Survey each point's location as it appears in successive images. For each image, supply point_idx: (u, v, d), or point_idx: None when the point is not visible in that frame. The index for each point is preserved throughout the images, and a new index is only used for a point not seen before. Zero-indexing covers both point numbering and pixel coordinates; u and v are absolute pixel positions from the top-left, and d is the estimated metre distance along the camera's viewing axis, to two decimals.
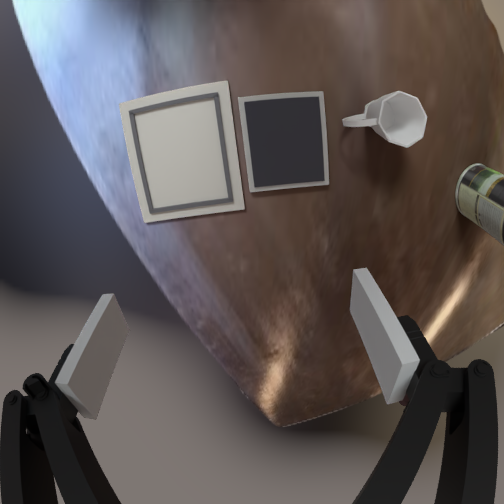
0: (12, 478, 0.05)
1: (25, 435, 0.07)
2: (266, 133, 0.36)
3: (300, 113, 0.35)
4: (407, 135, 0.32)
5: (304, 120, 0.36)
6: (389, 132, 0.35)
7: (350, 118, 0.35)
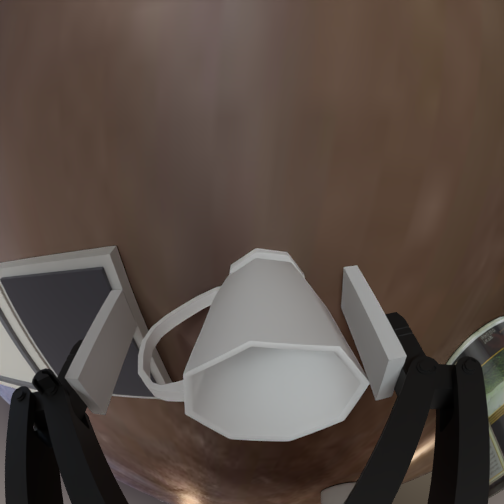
0: (17, 475, 0.05)
1: (32, 432, 0.08)
2: (45, 329, 0.17)
3: (79, 302, 0.16)
4: (309, 391, 0.12)
5: (90, 315, 0.16)
6: None
7: (181, 312, 0.16)
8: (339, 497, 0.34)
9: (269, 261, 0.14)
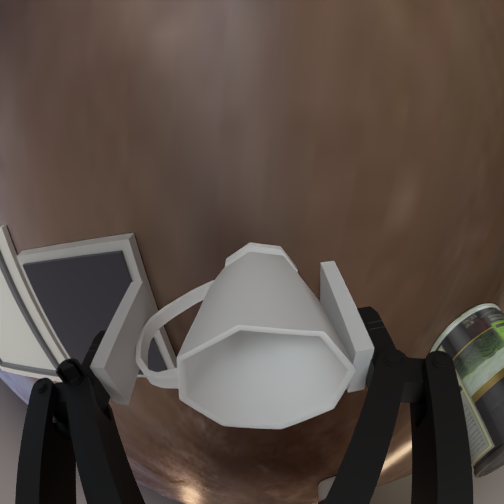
0: (30, 469, 0.06)
1: (51, 425, 0.08)
2: (63, 311, 0.20)
3: (98, 283, 0.19)
4: (300, 380, 0.13)
5: (107, 295, 0.19)
6: (275, 336, 0.16)
7: (179, 304, 0.17)
8: None
9: (262, 254, 0.15)
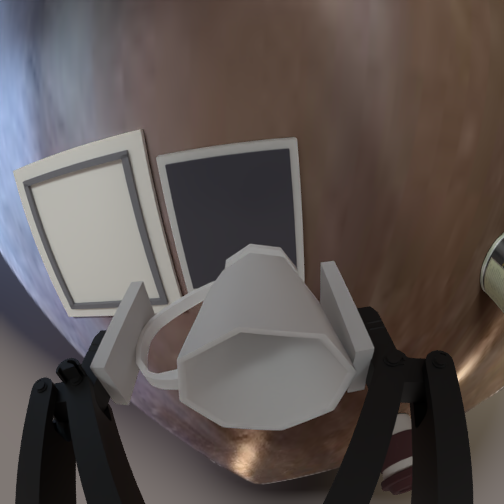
0: (30, 469, 0.06)
1: (51, 426, 0.08)
2: (203, 213, 0.24)
3: (257, 178, 0.23)
4: (300, 382, 0.13)
5: (264, 190, 0.23)
6: (275, 337, 0.16)
7: (179, 305, 0.17)
8: (395, 426, 0.41)
9: (262, 256, 0.15)
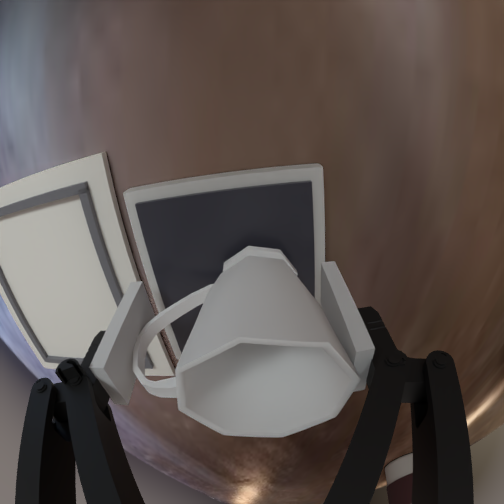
0: (30, 469, 0.06)
1: (50, 426, 0.08)
2: (190, 270, 0.18)
3: (265, 224, 0.16)
4: (301, 388, 0.13)
5: (275, 240, 0.17)
6: None
7: (176, 309, 0.16)
8: (407, 467, 0.34)
9: (261, 258, 0.15)
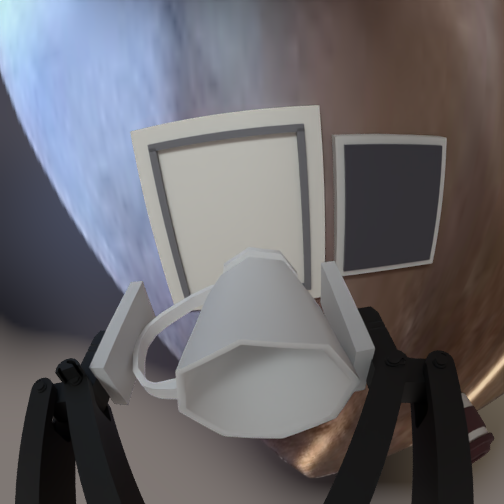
0: (30, 469, 0.06)
1: (50, 426, 0.08)
2: (371, 196, 0.24)
3: (418, 168, 0.22)
4: (301, 389, 0.13)
5: (421, 179, 0.23)
6: None
7: (176, 310, 0.16)
8: None
9: (261, 260, 0.15)
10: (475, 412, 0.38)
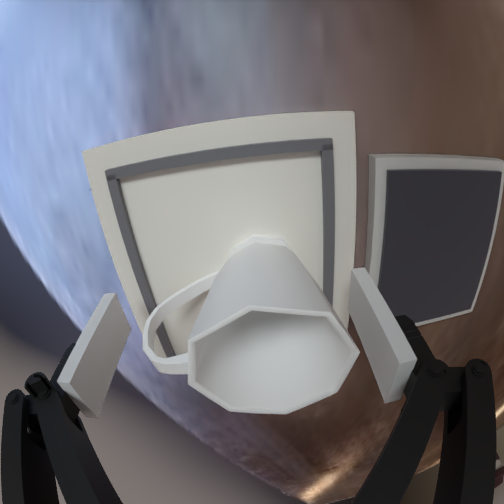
0: (12, 478, 0.05)
1: (26, 434, 0.08)
2: (416, 240, 0.17)
3: (474, 202, 0.15)
4: (304, 366, 0.14)
5: (476, 215, 0.16)
6: (278, 324, 0.17)
7: (184, 294, 0.17)
8: None
9: (266, 244, 0.16)
10: None
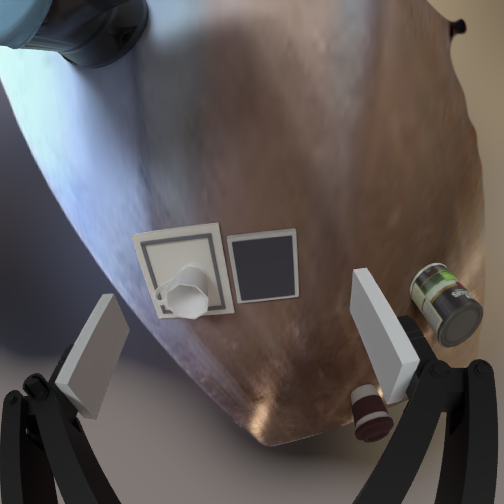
0: (12, 478, 0.05)
1: (25, 435, 0.07)
2: (249, 265, 0.50)
3: (276, 249, 0.49)
4: (201, 305, 0.47)
5: (279, 254, 0.49)
6: (197, 293, 0.50)
7: (167, 283, 0.50)
8: (363, 392, 0.67)
9: (191, 267, 0.49)
10: (377, 400, 0.64)
